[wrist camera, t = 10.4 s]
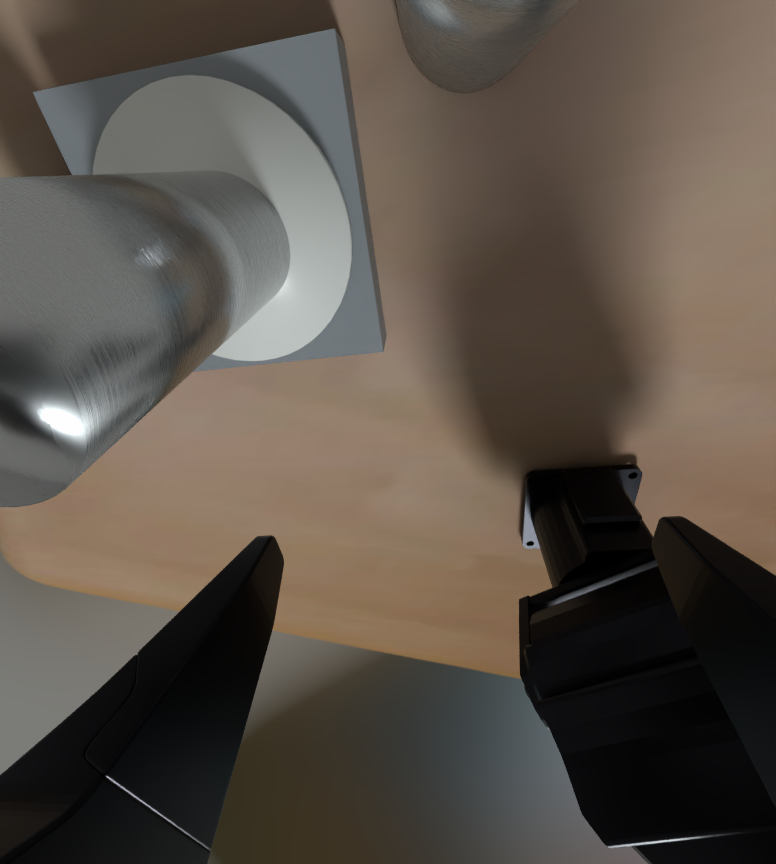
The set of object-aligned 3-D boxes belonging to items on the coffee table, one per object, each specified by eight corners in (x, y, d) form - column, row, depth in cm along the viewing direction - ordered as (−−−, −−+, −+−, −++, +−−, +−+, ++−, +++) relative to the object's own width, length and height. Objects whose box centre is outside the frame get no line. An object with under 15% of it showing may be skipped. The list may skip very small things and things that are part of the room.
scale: (386, 336, 20) (378, 378, 16) (136, 363, 22) (74, 407, 18) (344, 43, 15) (316, -2, 11) (7, 113, 16) (-127, 97, 12)
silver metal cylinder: (274, 327, 18) (86, 540, 8) (158, 280, 17) (-221, 451, 7) (305, 206, 15) (76, 292, 5) (169, 145, 14) (-424, 99, 4)
